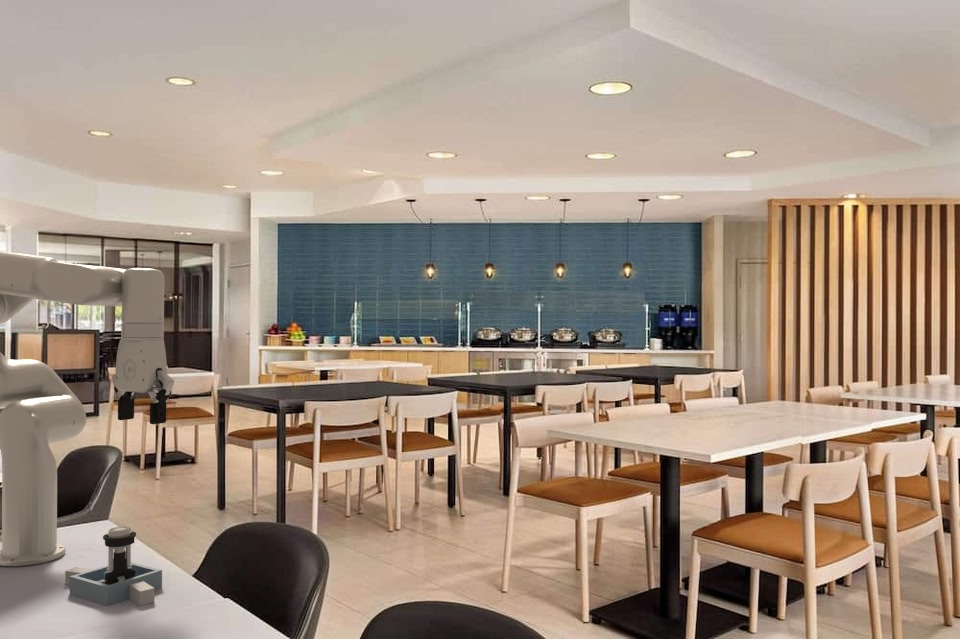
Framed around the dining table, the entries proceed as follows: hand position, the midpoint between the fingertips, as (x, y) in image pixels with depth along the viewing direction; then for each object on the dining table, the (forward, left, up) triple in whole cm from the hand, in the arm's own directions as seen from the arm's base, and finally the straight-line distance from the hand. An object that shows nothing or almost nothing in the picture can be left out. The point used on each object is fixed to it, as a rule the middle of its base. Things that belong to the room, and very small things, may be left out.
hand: (141, 421), depth 151 cm
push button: (+7, -10, -28) cm, 30 cm away
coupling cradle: (+8, -11, -28) cm, 31 cm away
